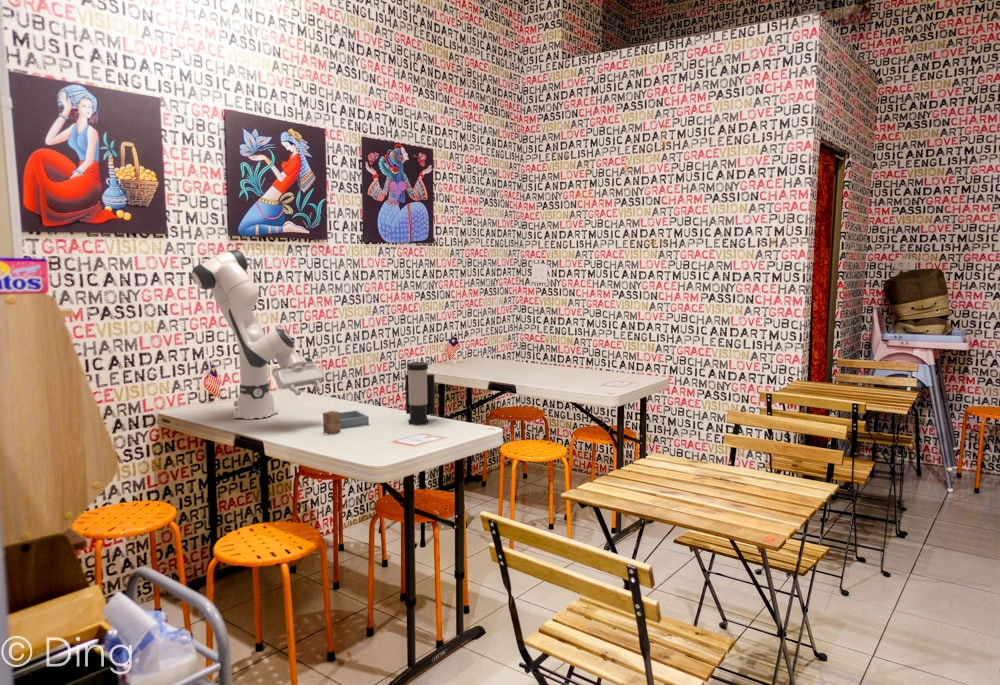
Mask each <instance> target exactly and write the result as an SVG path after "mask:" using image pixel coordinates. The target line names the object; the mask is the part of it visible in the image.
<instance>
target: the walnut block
mask: <svg viewBox="0 0 1000 685" xmlns="http://www.w3.org/2000/svg"><path fill="white" fill-rule="evenodd" d="M340 413H341V412H339V411H333V410H331V411H326V412H325V411H324V412H323V413H322V421H323V422H322V423H323V424H322V425H323V427H322V428H323V429H322V430H323V434H325V433H327V435H330V434H333V435H336V434H340V433H341V429H340ZM339 432H340V433H339ZM335 433H336V434H335Z"/></svg>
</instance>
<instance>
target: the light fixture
mask: <svg viewBox="0 0 1000 685" xmlns="http://www.w3.org/2000/svg"><path fill="white" fill-rule="evenodd" d="M406 369H407V373H408V374H405V376H404V377H405V380H404V381H405V412H406V415H409V420H408V424H409V425H410V424H414V425H413V426H420V425H419V424H425V425H427V424H426V423H428V422H429V423H430V419H428V415H431V414H432V415H435V413H436V400H435V397H436V396H435V394H436V393H435V374H434V373H433V374H431V373H428V369H429V364H428V362H424V361H417V362H416V361H415V362H408V363H406ZM429 423H428V424H429Z"/></svg>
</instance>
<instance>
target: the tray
mask: <svg viewBox="0 0 1000 685" xmlns="http://www.w3.org/2000/svg"><path fill="white" fill-rule="evenodd" d="M369 419H370V418H369V415H367V414H365V413H363V412H360V411H358V410H350V411H341V412H340V430H342V429H341V428H343V429H349V428H348V427H350V428H356V427H355V426H357V427H362V425H365V426H369V425H370V422H369ZM368 424H369V425H368Z"/></svg>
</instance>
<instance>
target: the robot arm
mask: <svg viewBox="0 0 1000 685" xmlns="http://www.w3.org/2000/svg"><path fill="white" fill-rule="evenodd" d="M248 267H249V264H248V260H247V258H246V256H245V255H244V254H243V253H242V251H240V250H238V249H231V250H228V251H227V252H224V253H220V254H218V255H215V256H213V257H211V258H209V259H207V260H205V261H204V262H202V263H199V264H197V265H196V266H194V267H193V268H192V272H191V275H192V280H193V281H194V283H195V284H196V285H197V286H198V287H199V289H201V290H204V291H205V290H210V291H211V294H212V296H213V298H214V300H215V303H216V304H217V306H218V308H219V309H220V311H221V314H222V315H223V317H224V319H225V320H226V322H227V324H228V325H229V327H230V329H231V331H232V332H233V334H234V336H235V337H236V339H237V342H238V356H239V358H238V359H239V372H240V373H239V374H240V384H239V395H238V397H237V400H235V401H233V407H236V408H235V409H233V411H232V419H234V418H244V419H243V420H255V419H254V418H259V419H264V418H263V417H266V418H269V417H268V416H270V417H272V416H273V414H274V415H277V414H279V410H277V409H275V401H274V395H273V394H271V393H270V383H269V378H268V364H269V362H271V361H273V360H274V359H275V360H276V361H277V363H278V365H279V367H277V368H273V370H272V372H271V374H272V376H273V377H274V379H275V383H276V385H277V386H278V388H279V389H281V390H286V389H289V391H291V392H292V393H294V395H295V396H297V397H298V396H300V395H301V393H302V391H301V390H300V389H298V388H297V387H303V386H308V385H313V386H315V387H314V391H315V393H316V392H320V391H321V389H322V388H321V386H320V383H322V381H323V380H324V378H325V374H324V372H323V371H322V369H321V368H320V366H319V365H318V364H317V363H315V362H316V361H315V359H314V358H313V357H306V356H302V355H300V354H299V353H298V352H297V351H296V348H295V343H294V341H293V338H292V337H291V336H290V334H289V333H288V331H287V330H285V329H282V328H274V329H272V330H271V331H269V332H268V333H266V334H265V331H264V329H263V328H262V326H261V325H260V322H259V320H258V319H257V317H256V315H255V313H254V312H253V309H254V308H255V306H256V304H257V302H258V299H259V290H258V289H257V286H256V285H255V282H254V281H253V280H252V278H251V276H249V274H248V273H247V270H248ZM276 413H277V414H276ZM271 415H272V416H271Z"/></svg>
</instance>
